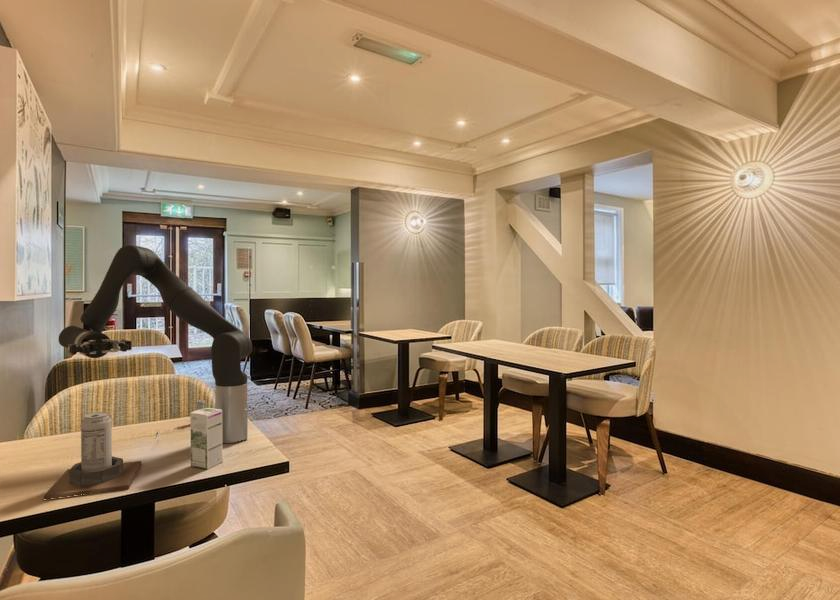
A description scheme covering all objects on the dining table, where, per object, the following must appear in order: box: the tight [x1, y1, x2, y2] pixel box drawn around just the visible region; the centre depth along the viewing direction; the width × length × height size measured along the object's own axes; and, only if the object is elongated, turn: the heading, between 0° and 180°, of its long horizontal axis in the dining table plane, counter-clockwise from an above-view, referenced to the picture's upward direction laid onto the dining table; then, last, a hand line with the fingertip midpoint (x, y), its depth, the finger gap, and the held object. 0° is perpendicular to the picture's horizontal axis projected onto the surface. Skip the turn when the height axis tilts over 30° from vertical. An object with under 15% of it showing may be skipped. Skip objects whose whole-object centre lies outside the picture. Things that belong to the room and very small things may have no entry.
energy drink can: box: [80, 411, 113, 471], centre depth 111 cm, size 6×6×15 cm
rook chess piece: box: [194, 398, 206, 411], centre depth 159 cm, size 4×4×8 cm
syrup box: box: [189, 407, 224, 470], centre depth 122 cm, size 6×6×14 cm
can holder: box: [43, 455, 142, 500], centre depth 111 cm, size 16×16×4 cm
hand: (107, 349), depth 125 cm, fingers open, 8 cm apart
